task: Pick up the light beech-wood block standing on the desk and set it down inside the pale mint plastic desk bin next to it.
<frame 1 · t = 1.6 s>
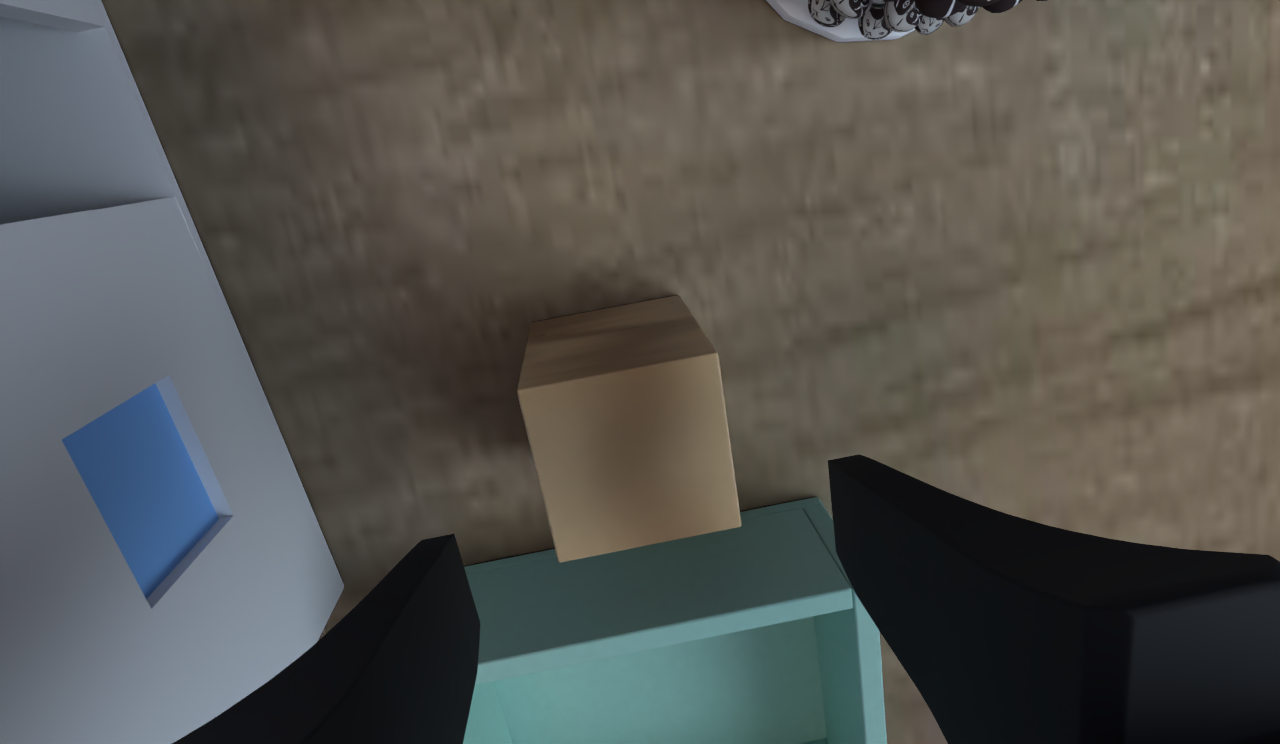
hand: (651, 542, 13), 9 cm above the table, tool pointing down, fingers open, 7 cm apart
desk bin: (658, 660, 26), on the table
beech block: (618, 378, 22), on the table
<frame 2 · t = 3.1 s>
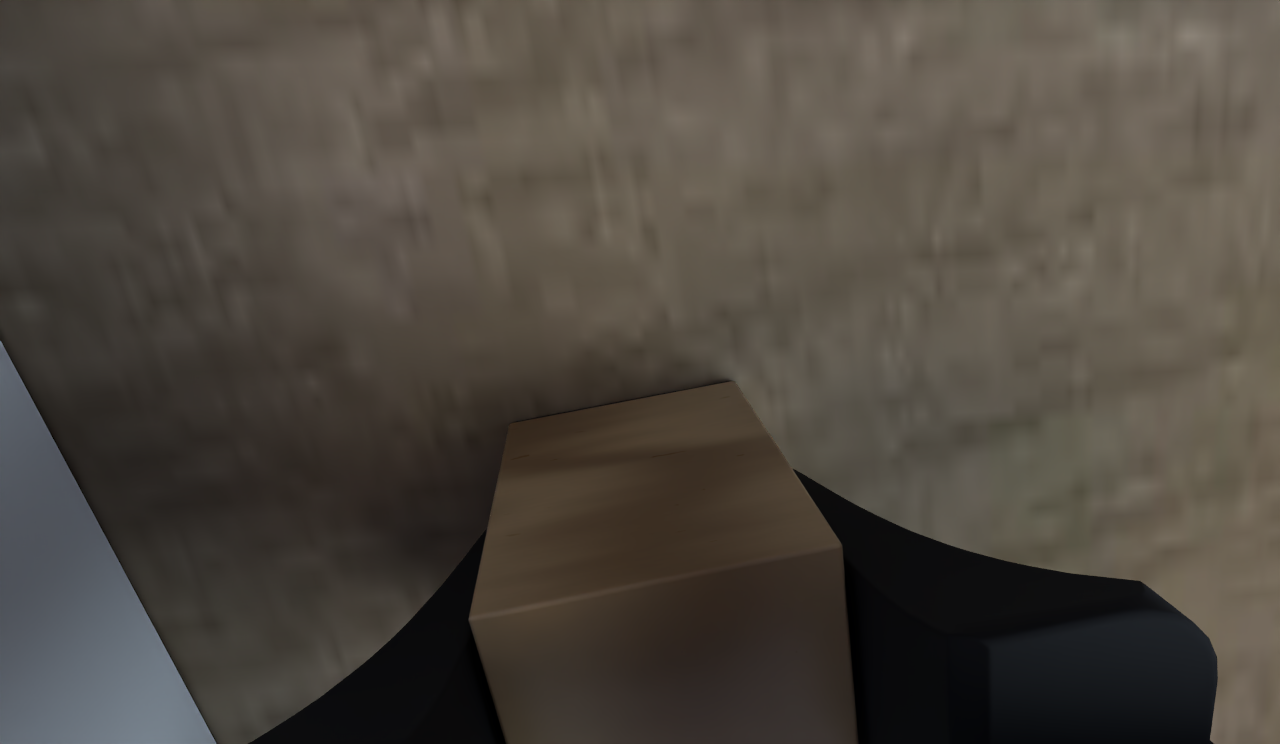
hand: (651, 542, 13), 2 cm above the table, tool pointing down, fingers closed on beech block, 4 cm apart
beech block: (641, 501, 15), on the table, touching gripper
when the fingers open (2 cm above the table, at t = 7.6 s): beech block stays where it is, resting on desk bin.
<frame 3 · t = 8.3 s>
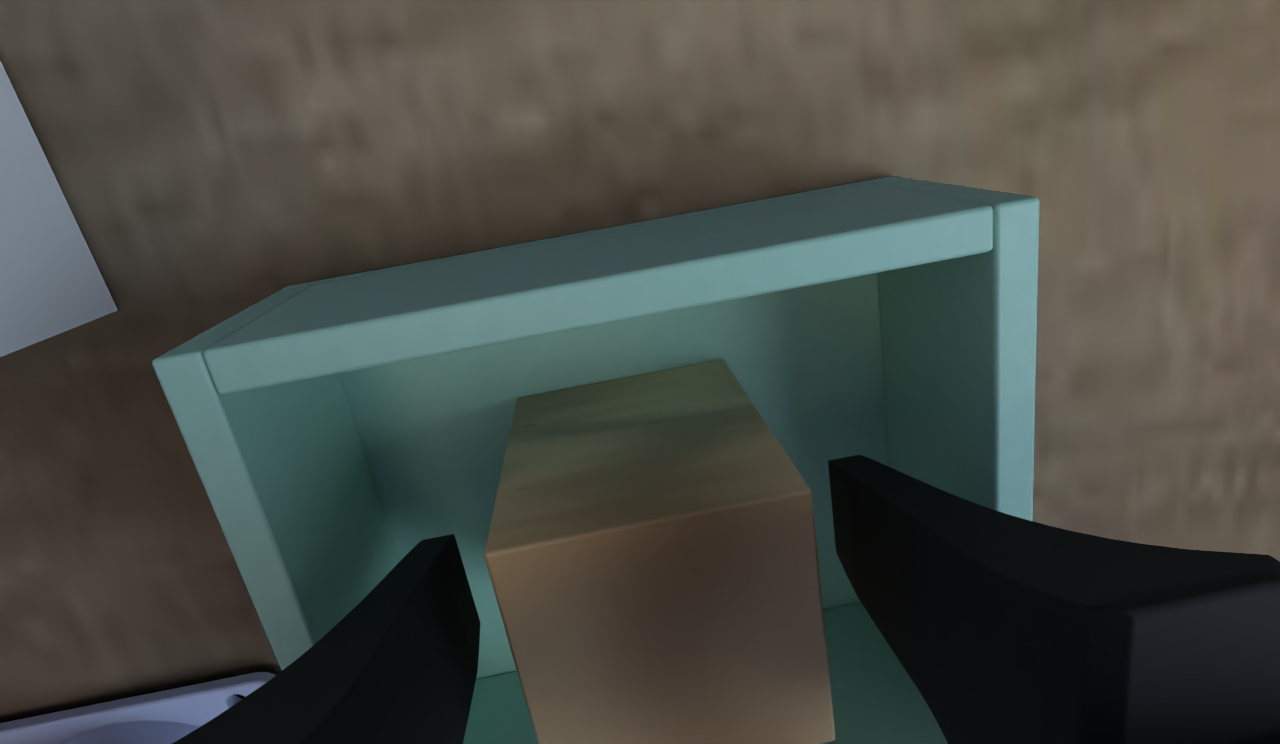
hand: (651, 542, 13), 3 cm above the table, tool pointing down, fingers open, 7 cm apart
desk bin: (637, 461, 17), on the table
beech block: (638, 471, 16), resting on desk bin
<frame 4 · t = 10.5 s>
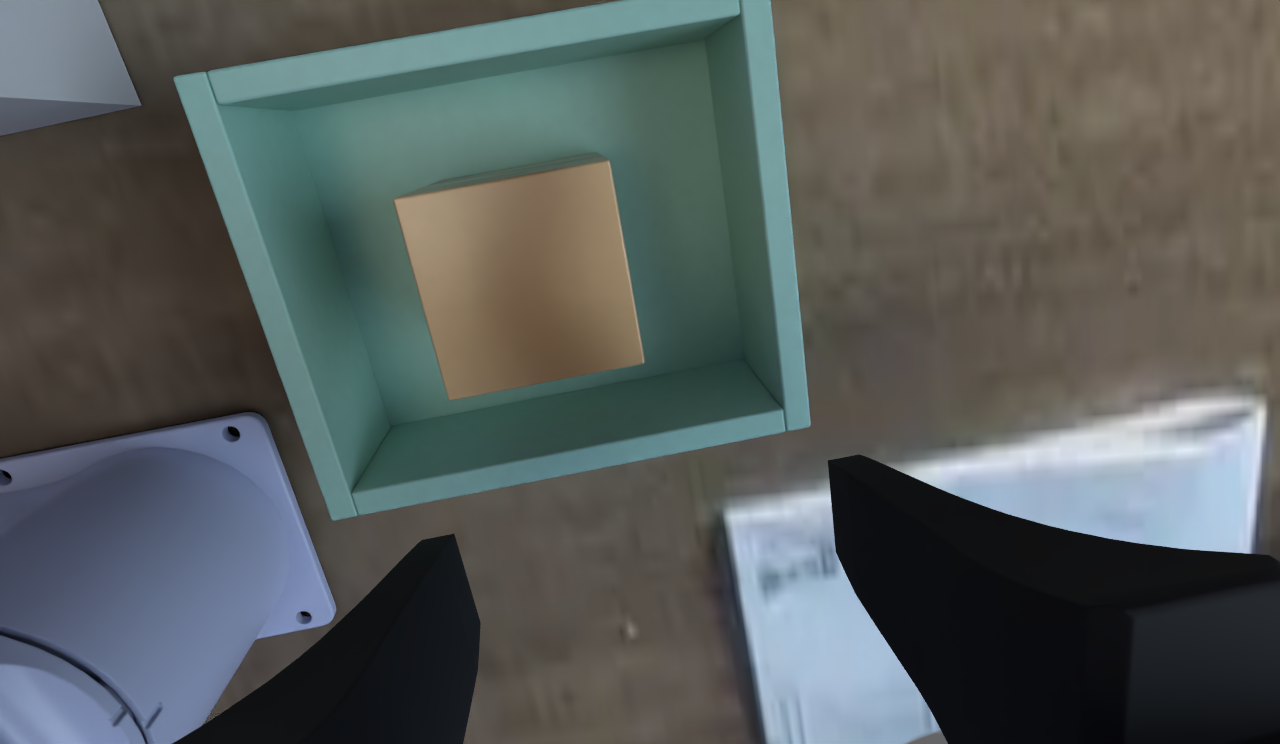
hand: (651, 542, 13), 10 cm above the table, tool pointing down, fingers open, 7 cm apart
desk bin: (538, 242, 22), on the table
beech block: (536, 244, 21), resting on desk bin
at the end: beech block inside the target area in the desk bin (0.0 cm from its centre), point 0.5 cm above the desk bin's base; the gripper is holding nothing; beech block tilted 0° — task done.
